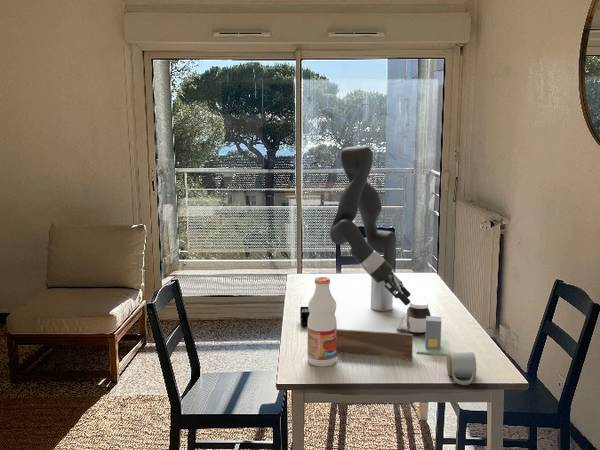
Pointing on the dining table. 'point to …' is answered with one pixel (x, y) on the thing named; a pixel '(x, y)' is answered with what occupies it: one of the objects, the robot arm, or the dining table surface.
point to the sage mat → (442, 351)
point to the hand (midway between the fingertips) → (408, 299)
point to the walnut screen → (374, 343)
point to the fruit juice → (322, 325)
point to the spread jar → (416, 317)
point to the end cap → (304, 316)
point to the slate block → (433, 332)
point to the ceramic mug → (461, 366)
